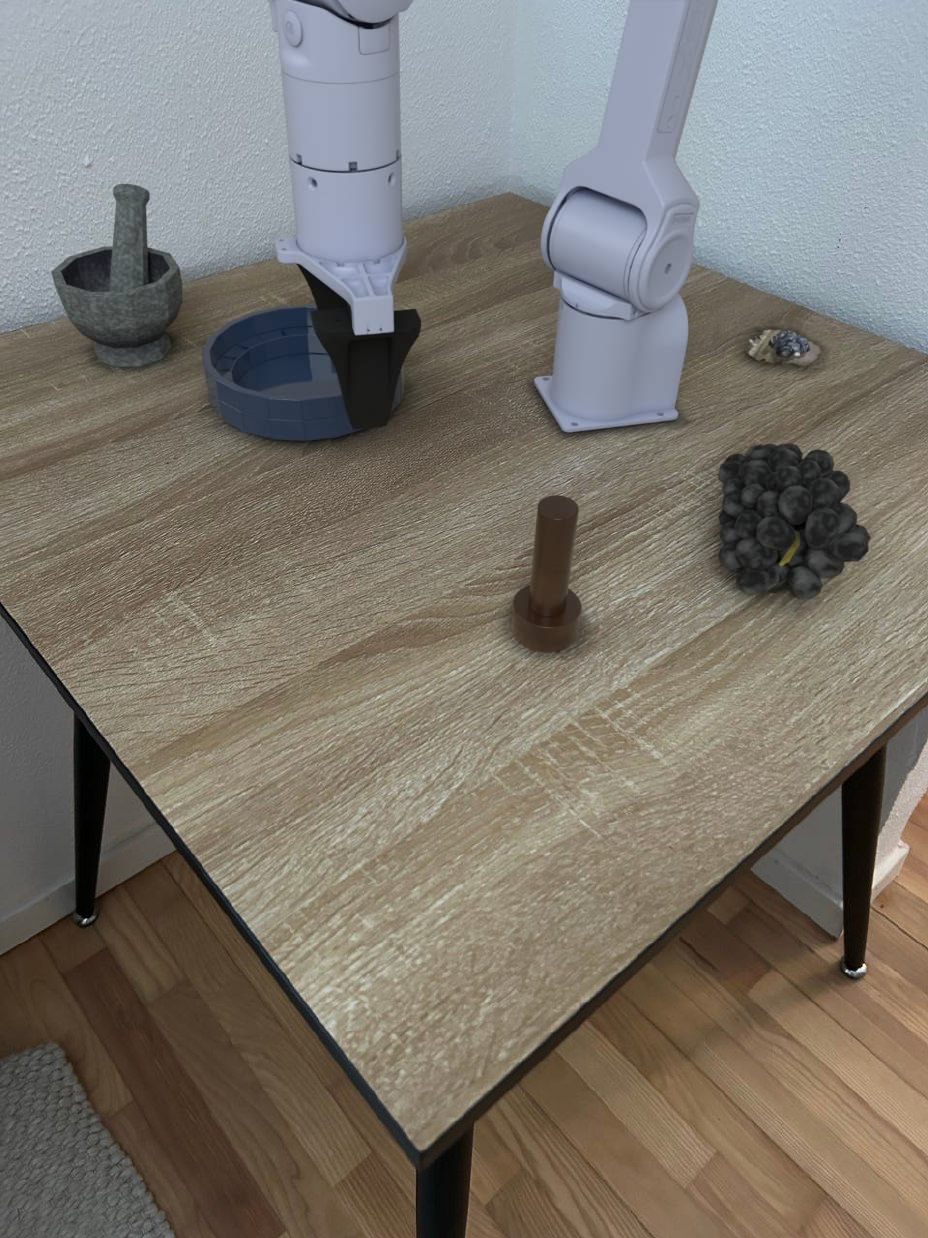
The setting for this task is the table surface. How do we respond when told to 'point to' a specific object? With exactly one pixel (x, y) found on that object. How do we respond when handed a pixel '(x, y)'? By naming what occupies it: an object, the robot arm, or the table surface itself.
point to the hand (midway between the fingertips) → (358, 391)
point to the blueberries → (783, 348)
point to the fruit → (786, 520)
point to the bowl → (277, 377)
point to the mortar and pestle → (123, 289)
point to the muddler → (549, 581)
